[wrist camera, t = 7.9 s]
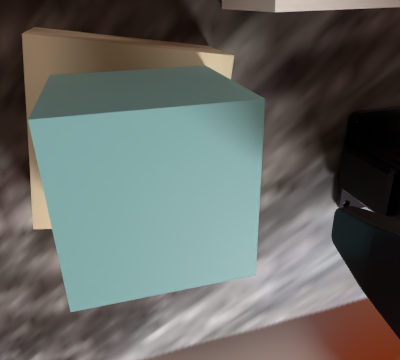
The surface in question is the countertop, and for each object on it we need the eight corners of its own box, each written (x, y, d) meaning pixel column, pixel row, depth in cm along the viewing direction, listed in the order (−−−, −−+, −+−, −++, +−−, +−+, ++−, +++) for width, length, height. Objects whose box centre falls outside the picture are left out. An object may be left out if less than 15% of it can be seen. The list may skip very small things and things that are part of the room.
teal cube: (205, 65, 16) (265, 99, 10) (206, 195, 18) (255, 275, 13) (49, 75, 14) (27, 119, 9) (75, 214, 17) (70, 312, 12)
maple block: (207, 45, 19) (234, 55, 16) (189, 189, 22) (208, 223, 19) (35, 26, 17) (21, 33, 13) (42, 189, 20) (33, 229, 17)
